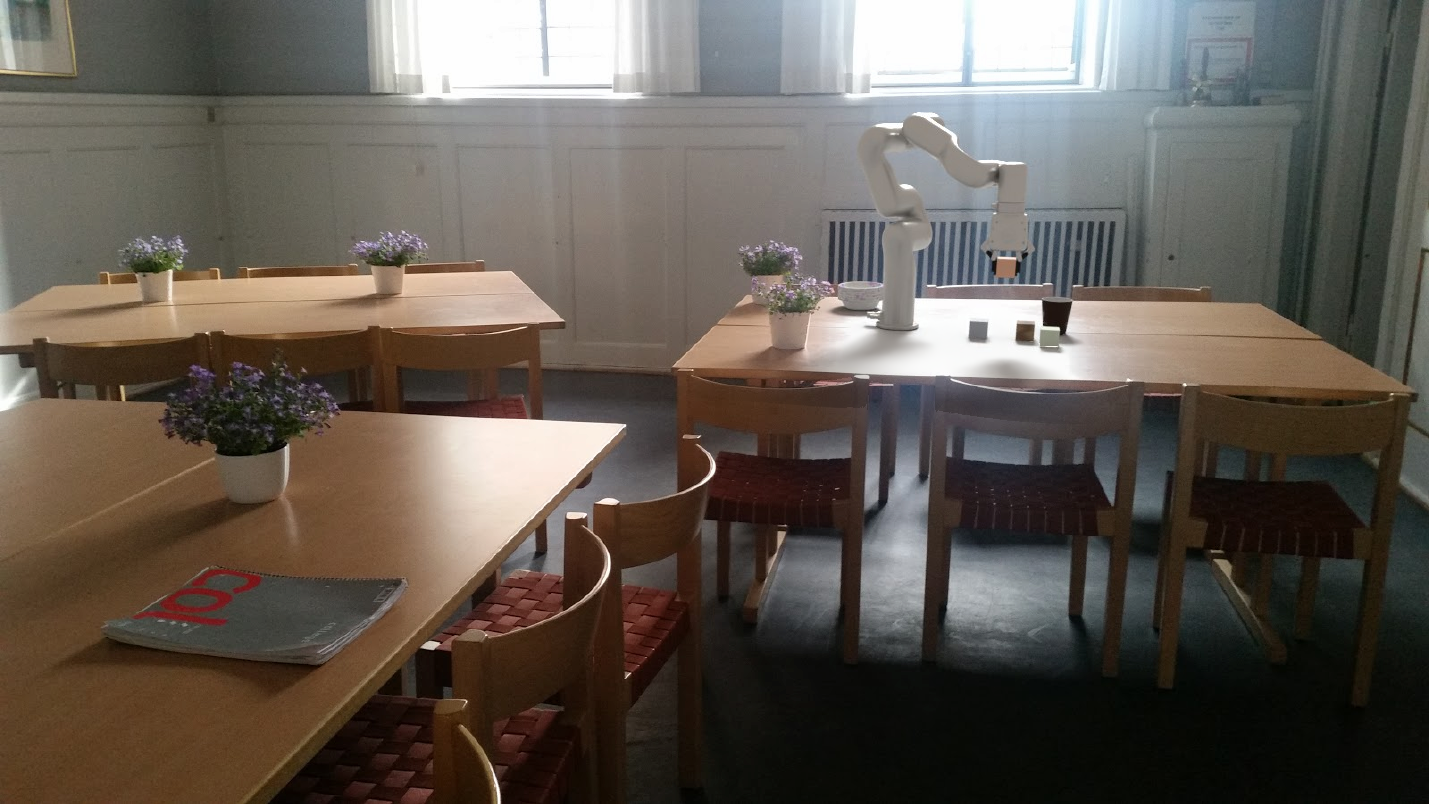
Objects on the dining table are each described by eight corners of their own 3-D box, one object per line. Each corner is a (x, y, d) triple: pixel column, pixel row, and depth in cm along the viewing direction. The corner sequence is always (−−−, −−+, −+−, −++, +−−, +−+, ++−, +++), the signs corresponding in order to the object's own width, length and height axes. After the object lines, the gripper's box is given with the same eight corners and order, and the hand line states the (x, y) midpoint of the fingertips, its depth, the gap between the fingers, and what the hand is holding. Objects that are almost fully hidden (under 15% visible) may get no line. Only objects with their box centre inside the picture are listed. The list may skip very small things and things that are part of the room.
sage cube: (1039, 347, 307) (1040, 329, 305) (1039, 343, 311) (1040, 326, 310) (1058, 348, 305) (1059, 330, 304) (1057, 344, 310) (1059, 327, 309)
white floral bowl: (828, 306, 367) (829, 282, 364) (867, 302, 373) (868, 279, 371) (852, 313, 353) (853, 289, 351) (892, 310, 359) (894, 286, 357)
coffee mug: (1063, 337, 319) (1066, 303, 317) (1034, 333, 324) (1037, 299, 322) (1077, 331, 328) (1080, 297, 326) (1049, 327, 333) (1052, 294, 331)
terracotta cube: (995, 277, 305) (997, 259, 304) (996, 274, 310) (997, 256, 308) (1014, 278, 304) (1016, 259, 302) (1014, 275, 308) (1016, 257, 307)
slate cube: (968, 338, 318) (969, 321, 317) (969, 334, 323) (970, 317, 321) (986, 339, 317) (987, 322, 315) (987, 335, 321) (988, 318, 320)
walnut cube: (1015, 340, 315) (1016, 323, 313) (1015, 337, 319) (1016, 320, 318) (1033, 341, 313) (1035, 324, 312) (1033, 338, 318) (1035, 321, 317)
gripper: (977, 208, 300) (973, 275, 305) (1043, 210, 296) (1037, 278, 301) (979, 206, 307) (974, 271, 312) (1042, 208, 303) (1037, 274, 308)
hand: (1005, 274), depth 306 cm, fingers closed on terracotta cube, 5 cm apart
